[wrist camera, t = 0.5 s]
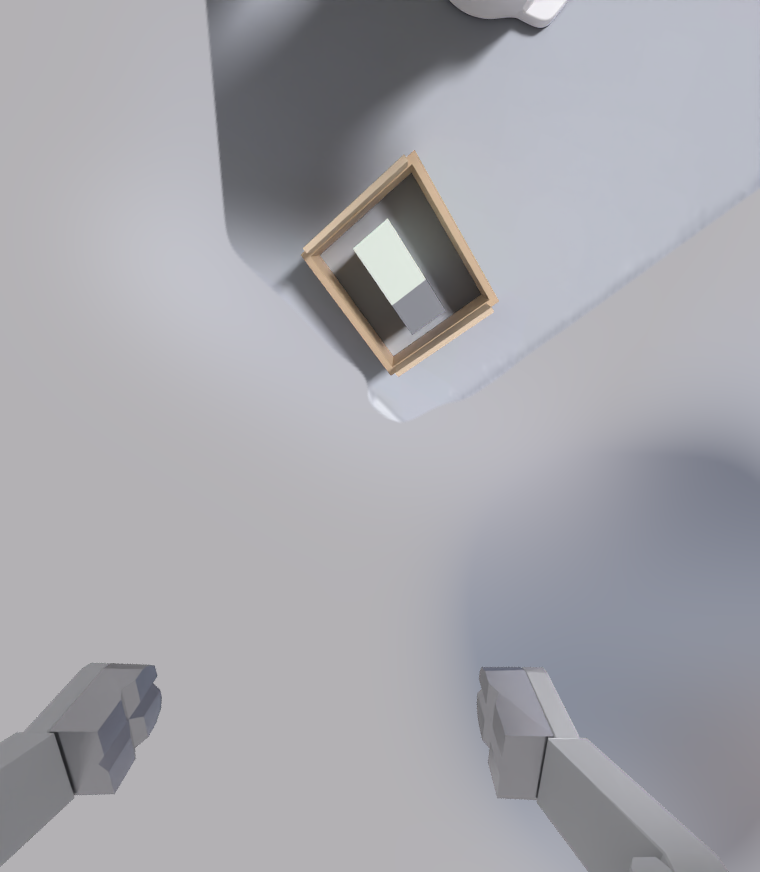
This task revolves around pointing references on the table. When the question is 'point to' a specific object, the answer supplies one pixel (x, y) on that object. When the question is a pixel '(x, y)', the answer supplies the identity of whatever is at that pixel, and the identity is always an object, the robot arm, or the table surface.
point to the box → (399, 277)
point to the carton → (482, 303)
